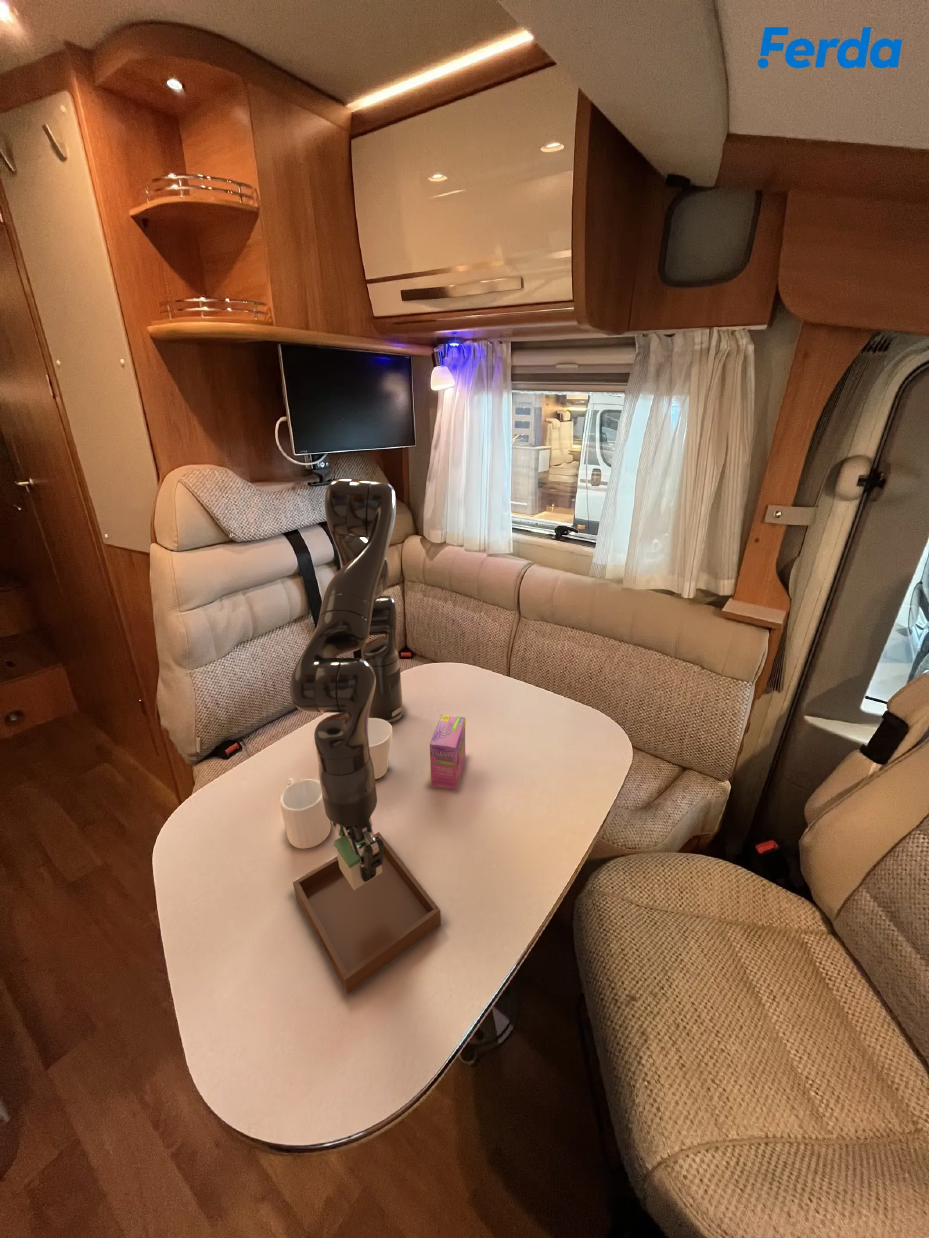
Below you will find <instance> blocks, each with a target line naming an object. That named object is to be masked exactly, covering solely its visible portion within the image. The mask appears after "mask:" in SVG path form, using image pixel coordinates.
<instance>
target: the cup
mask: <svg viewBox="0 0 929 1238" xmlns="http://www.w3.org/2000/svg"><path fill="white" fill-rule="evenodd" d="M392 735H393V726H392V725H391V723H388V722H387V721H385V720H383V719H378V718H368V740H369V749H370V756H371V759H372V763H373V768H374V777H375V780H377V779H380V778H382V777H383V776H384V775H385V774H386V773H387V772H388V768H389V758H390V757H389V756H390V748H391V739H392Z"/></svg>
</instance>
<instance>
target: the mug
mask: <svg viewBox="0 0 929 1238" xmlns="http://www.w3.org/2000/svg"><path fill="white" fill-rule="evenodd" d="M279 805H280V809H281V814H282V819H283V823H284V828H285V832H286V836H287V839H288V842H289V844H290V845H292V846H293V847H295V848H298V849H310V848H313V847H316V846H319V845H320V844H322V843H323V842H324V841H325V840H326V839H327V838H328V836H329V834H330V833H331V829H332V825H331V820H330V819H329V818H328V817H327V815H326V813H325V808H324V802H323V797H322V791H321V785H320V780H318V779H313V778H303V779H298V780H296V781H295V779H294V778H292V777H289V778H288V786H286V787H285V788H284V789H283V790H282V792H281V793H280V796H279Z"/></svg>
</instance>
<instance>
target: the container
mask: <svg viewBox="0 0 929 1238" xmlns="http://www.w3.org/2000/svg"><path fill="white" fill-rule="evenodd" d="M375 840H376V838H375ZM364 841H365V840H363V841H361V842H359V843H356V846H357V845H359V844H361V843H362V842H364ZM332 844H333V846H334V848H335V849H336V855H337V856H338V862H339V868H340V870H341V871H342V873H343V874H344V876H345V877H346V879H347V880H348V882H349V884H350V885H351V887H352V888H353V890H355V889H357V888H358V887H360V886H362V885H363V884H365V883H366V882H368V881H366V882H364V881H363V880H362V878H361V872H360V865H359V861H358V857H357V855H356V854H354V853H353V852H352V850H351V846H350V843H349V840H348V837H347V836H346V835H344V836H342V837H340V836H339V837H338V838H337V839H335V840H334V841H333V843H332ZM362 855H363V857H364V852H363V853H362ZM337 856H336V857H337ZM380 873H382V865H380V866H379V867H377V868H376V876H377V875H379V874H380ZM376 876H375V877H376ZM373 878H374V877H373ZM373 878H372V879H373ZM370 880H371V879H370Z"/></svg>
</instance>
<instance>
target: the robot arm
mask: <svg viewBox="0 0 929 1238" xmlns="http://www.w3.org/2000/svg"><path fill="white" fill-rule="evenodd" d="M324 512H325V514H324V515H325V518H326V523H327V527H328V529H329V532H330V535H331V537H332V540H333V543H334V545H335V547H336V551H337V555H338V559H339V565H340V569H338V571H337V572H336V573H335V574H334V576H333V577H332V578H331V579H330V581H329V583H328V584H327V586H326V588H325V591H324V594H323V598H322V602H321V606H320V611H319V615H318V616H319V617H318V621H317V626H316V628H315V630H314V632H313V634H312V635H311V638H310V639H309V642H308V643H307V645H306V647H305V648H304V650H303V652H302V654H301V655H300V657H299V659H298V660H297V662H296V663H295V666H294V668H293V671H292V674H291V677H290V682H289V694H290V698H291V701H292V703H293V704H294V706H295V707H296V709H298V710H299V711H301V712H304V713H309V714H310V713H314V714H319V713H320V714H321V713H322V714H323V713H325V714H326V713H327V714H328V713H329V714H331V715H329V716H326V717H325V718H323V719H321V721H319V722H318V723H317V725H316V727H315V730H314V734H313V737H314V745H315V750H316V758H317V763H318V781H319V782H320V785H321V791H322V797H323V802H324V808H325V813H326V815H327V817H328V818H329V819H330V822H332V825H333V826H334V828H336V829H337V832H338V836H339V838H340V837H342V836H344V835H346V836H347V837H348V840H349V843H350V846H351V850H352V852H353V853H354V854H356V855H357V857H358V861H359V865H360V872H361V878H362V880H363V881H364V882H366V881H369V880H370V879H372V878H373V877H375V876H376V868H377V867H379V866H380V865H382V864H383V841H382V840H381V838H378V839H377V840H375V837H374V834H375V833H374V831H373V821H372V819H371V816H372V815H373V813H374V812H375V810H376V808H377V806H378V794H377V787H376V786H377V785H376V779H375V777H374V768H373V763H372V759H371V756H370V749H369V740H368V718H378V719H383V720H385V721H387V722H388V723H390V724H392V723H394V722H397V721H399V720H400V719H401V718H402V717H403V716H404V710H405V709H404V704H403V691H402V690H403V689H402V677H401V665H400V663H401V662H400V651H399V642H398V610H397V609H398V608H397V604H396V601H395V598H393V596H391V595H383V594H384V593H385V592H386V591H387V588H388V586H389V581H390V568H389V567H390V566H389V561H388V558H387V554H388V550H389V546H390V544H391V540H392V536H393V532H394V528H395V523H396V514H397V498H396V492H395V489H394V487H393V486H392V484H390V483H387V482H384V481H380V480H379V481H377V480H368V479H358V478H347V477H339V478H335V479H333V480H332V481H330V482H329V483H328V485H327V487H326V489H325V493H324ZM370 636H377V637H376V638H374V639H372V640H369V637H370ZM368 640H369V641H368ZM359 650H360V656H361V658H359V657H339V656H342V655H345V654H348V653H353V652H357V651H359ZM333 713H334V714H333ZM363 840H365V841H364V842H362V843H361V844H359V845H357V846H356V843H359V842H361V841H363ZM363 852H364V857H363V855H362V853H363Z"/></svg>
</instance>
